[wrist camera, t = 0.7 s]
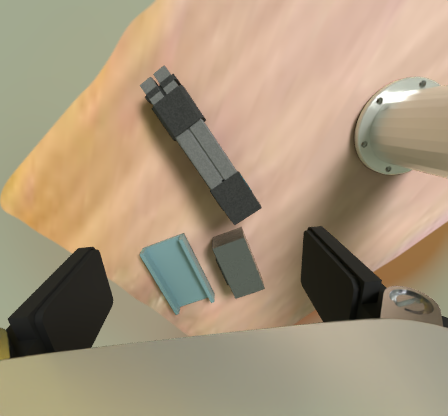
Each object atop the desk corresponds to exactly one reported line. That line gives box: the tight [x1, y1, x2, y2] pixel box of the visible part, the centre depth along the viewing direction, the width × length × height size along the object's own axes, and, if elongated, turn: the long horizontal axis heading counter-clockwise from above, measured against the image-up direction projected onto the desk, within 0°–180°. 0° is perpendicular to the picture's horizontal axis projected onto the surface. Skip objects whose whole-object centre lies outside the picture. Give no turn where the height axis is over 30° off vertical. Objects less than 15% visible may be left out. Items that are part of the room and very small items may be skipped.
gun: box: [140, 66, 261, 225], centre depth 31 cm, size 4×20×10 cm, turn 35°
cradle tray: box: [140, 233, 214, 315], centre depth 39 cm, size 7×13×2 cm, turn 21°
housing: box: [212, 227, 265, 298], centre depth 38 cm, size 5×10×4 cm, turn 21°
